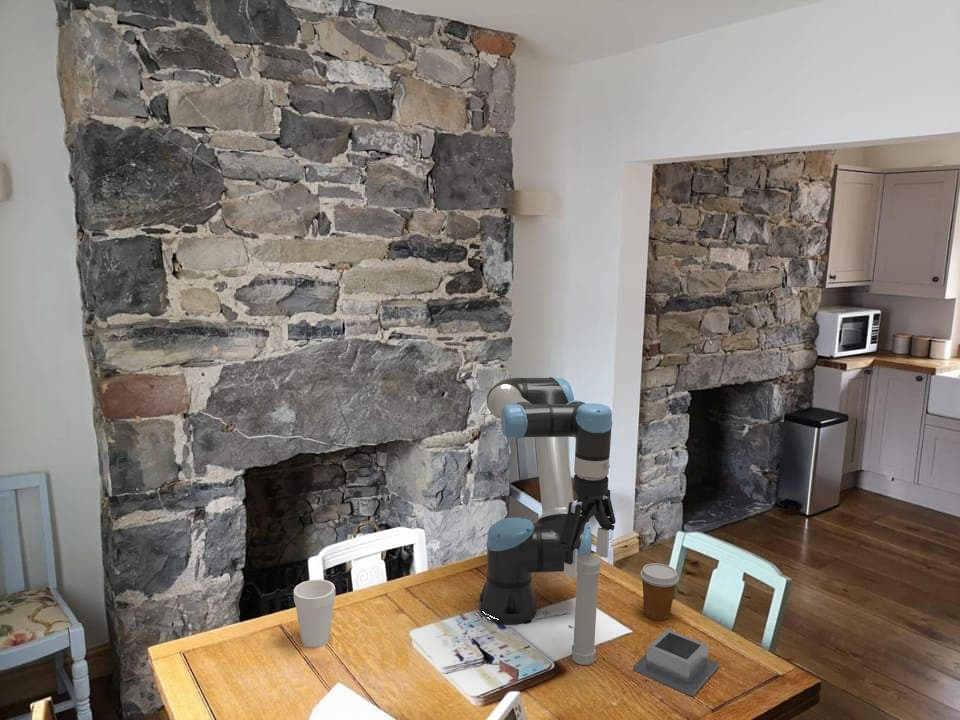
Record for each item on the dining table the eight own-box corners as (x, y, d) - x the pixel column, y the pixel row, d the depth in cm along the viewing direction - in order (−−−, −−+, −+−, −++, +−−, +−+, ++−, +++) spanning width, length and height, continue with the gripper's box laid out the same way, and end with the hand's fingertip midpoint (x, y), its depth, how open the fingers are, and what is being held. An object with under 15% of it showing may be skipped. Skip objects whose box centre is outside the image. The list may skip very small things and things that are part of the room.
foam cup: (343, 640, 166) (343, 589, 164) (310, 656, 160) (309, 603, 157) (320, 625, 173) (319, 575, 170) (287, 639, 166) (285, 588, 164)
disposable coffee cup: (669, 628, 175) (672, 583, 173) (632, 616, 180) (635, 573, 178) (680, 611, 183) (683, 568, 181) (644, 601, 188) (647, 559, 186)
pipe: (594, 667, 158) (601, 541, 153) (566, 663, 159) (573, 538, 154) (595, 653, 163) (602, 531, 158) (568, 650, 165) (574, 528, 160)
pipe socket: (633, 670, 157) (634, 646, 156) (661, 644, 168) (662, 622, 167) (693, 697, 149) (695, 672, 148) (718, 667, 159) (720, 644, 158)
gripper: (575, 493, 142) (570, 591, 146) (633, 465, 161) (628, 552, 165) (544, 484, 147) (540, 579, 150) (605, 458, 166) (600, 543, 169)
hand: (586, 565), depth 158 cm, fingers open, 13 cm apart
